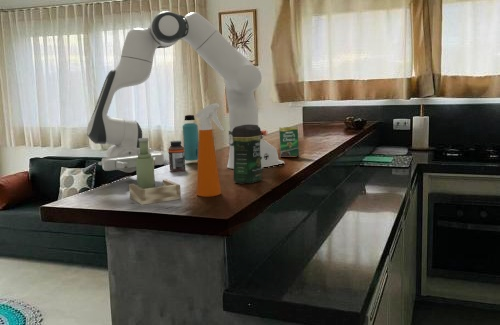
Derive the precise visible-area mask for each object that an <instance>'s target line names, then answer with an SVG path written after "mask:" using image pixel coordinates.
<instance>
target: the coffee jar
mask: <svg viewBox="0 0 500 325" xmlns="http://www.w3.org/2000/svg"><path fill="white" fill-rule="evenodd" d="M260 130H261V127H260V126H259V124H258V125H241V126H237V127H235V128H234V129H233V133H232V136H233V137H232V139H233V143H234V169H233V181H234V183H237V184H240V185H244V184H254V182H255V183H257V182H260V181H262V179H263V172H262V171H263V170H262V169H263V168H261V156H260V139H261V132H260Z"/></svg>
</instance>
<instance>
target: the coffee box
mask: <svg viewBox="0 0 500 325" xmlns="http://www.w3.org/2000/svg"><path fill="white" fill-rule="evenodd" d="M278 129H279V130H278V131H279V149H280V157H281V156H299V157H300V148H299V147H300V145H299V128H298V126H284V127H283V126H281V127H279V128H278Z"/></svg>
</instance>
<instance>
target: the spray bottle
mask: <svg viewBox="0 0 500 325" xmlns="http://www.w3.org/2000/svg"><path fill="white" fill-rule="evenodd" d="M220 107H221V106H220V103H211V104H208V105H206V106H205V107H203V108H202V109H199V110H198V111H197V113H196V114H195V115H194V117H196V119H199V123H198V127H199V128H198V139H199V148H198V160H197V175H196V176H197V180H196V181H197V182H196V195H197V196H198V197H203V198H205V197H206V198H210V197H216V196H220V195H221V194H222V191H221V184H220V176H219V169H218V161H217V156H216V155H217V154H216V149H215V148H216V147H215V142H214V134H213V128H212V127H213V126H212V125H213V124H212V122H211V120H212V121H213V122H214V124H215V125H216V126H217V128H218V129H220V131H222V132H225V129H224V126H223V125H222V124H221V122H220V119H219V116H218V109H219V108H220Z"/></svg>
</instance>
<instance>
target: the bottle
mask: <svg viewBox="0 0 500 325" xmlns="http://www.w3.org/2000/svg"><path fill="white" fill-rule="evenodd" d="M138 140H139V145H140V154H138V158H136V171H135V172H136V182H137V183H136V185H137V186H139V187H140V188H142V189H148V188H155V187H156V182H155V181H156V179H155V176H156V175H155V165H154V158H153V157H151V153H149V151H148V148H149V141H150V140H149V137H142V138H139V139H138Z"/></svg>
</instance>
